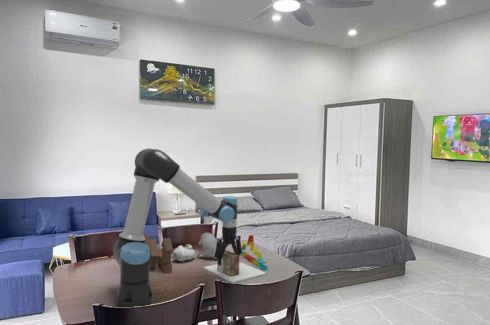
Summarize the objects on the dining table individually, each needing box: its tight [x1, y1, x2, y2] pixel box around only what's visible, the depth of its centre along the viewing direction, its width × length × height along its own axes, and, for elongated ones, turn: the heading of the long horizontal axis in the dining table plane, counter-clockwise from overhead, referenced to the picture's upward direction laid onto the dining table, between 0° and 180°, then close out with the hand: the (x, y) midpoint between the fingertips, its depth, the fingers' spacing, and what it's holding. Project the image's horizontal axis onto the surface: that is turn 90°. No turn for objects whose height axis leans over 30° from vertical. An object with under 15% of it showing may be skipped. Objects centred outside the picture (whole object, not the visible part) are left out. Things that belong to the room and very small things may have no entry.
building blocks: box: [129, 201, 174, 274], centre depth 191 cm, size 19×25×35 cm
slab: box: [217, 249, 241, 277], centre depth 189 cm, size 5×12×10 cm, turn 40°
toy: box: [196, 232, 218, 260], centre depth 214 cm, size 8×15×20 cm
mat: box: [202, 261, 267, 284], centre depth 194 cm, size 22×26×1 cm
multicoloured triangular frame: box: [240, 234, 268, 271], centre depth 211 cm, size 30×3×15 cm, turn 25°
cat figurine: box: [171, 244, 196, 263], centre depth 209 cm, size 10×8×15 cm
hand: (228, 269), depth 190 cm, fingers open, 9 cm apart
